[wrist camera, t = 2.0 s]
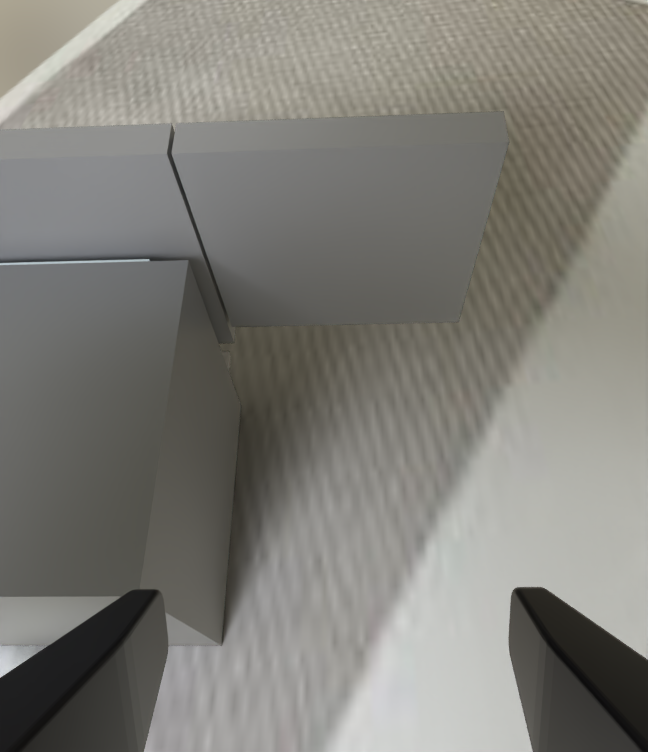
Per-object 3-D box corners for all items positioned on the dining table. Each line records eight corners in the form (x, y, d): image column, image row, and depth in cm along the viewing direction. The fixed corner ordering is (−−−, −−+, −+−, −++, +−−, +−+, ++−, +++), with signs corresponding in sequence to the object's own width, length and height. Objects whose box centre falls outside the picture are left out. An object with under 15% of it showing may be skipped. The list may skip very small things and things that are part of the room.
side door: (453, 338, 20) (509, 142, 13) (-17, 348, 20) (-218, 167, 13) (451, 314, 20) (503, 111, 13) (-10, 324, 21) (-202, 137, 14)
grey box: (221, 645, 18) (119, 585, 10) (-41, 645, 19) (-327, 587, 11) (242, 389, 23) (181, 211, 15) (29, 393, 23) (-141, 221, 15)
